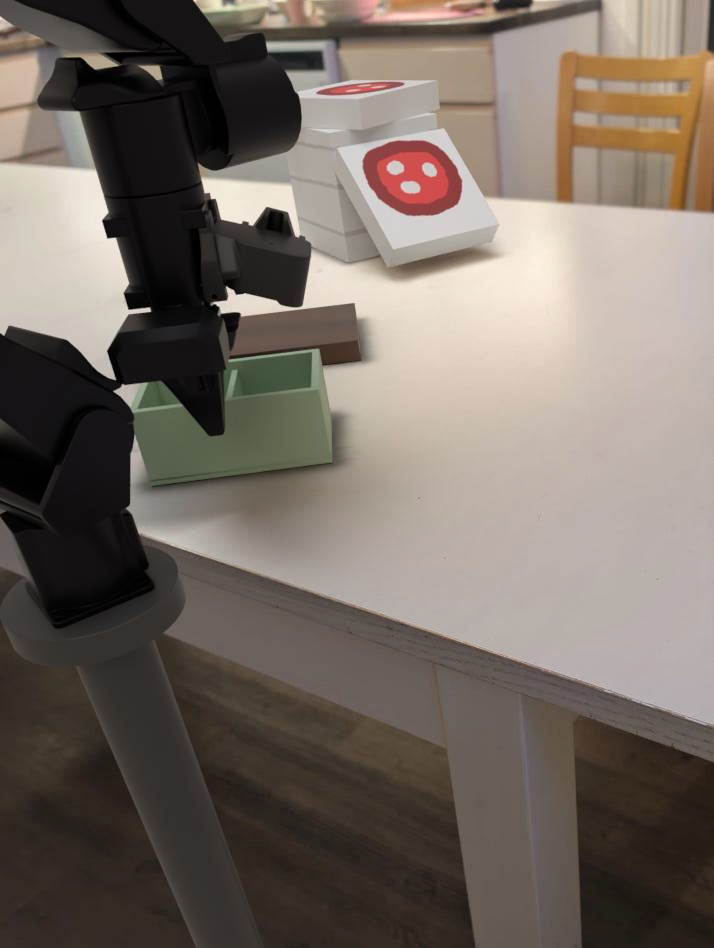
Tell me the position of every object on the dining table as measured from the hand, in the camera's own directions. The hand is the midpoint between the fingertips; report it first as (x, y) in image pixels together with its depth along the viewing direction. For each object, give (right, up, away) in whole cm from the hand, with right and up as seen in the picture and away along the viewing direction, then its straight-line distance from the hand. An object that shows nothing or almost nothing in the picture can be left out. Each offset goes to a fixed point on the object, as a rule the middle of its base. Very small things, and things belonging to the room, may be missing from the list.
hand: (217, 433), depth 64 cm
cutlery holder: (-1, +1, +12) cm, 12 cm away
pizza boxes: (+7, +38, +60) cm, 71 cm away
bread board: (-4, +15, +30) cm, 34 cm away
